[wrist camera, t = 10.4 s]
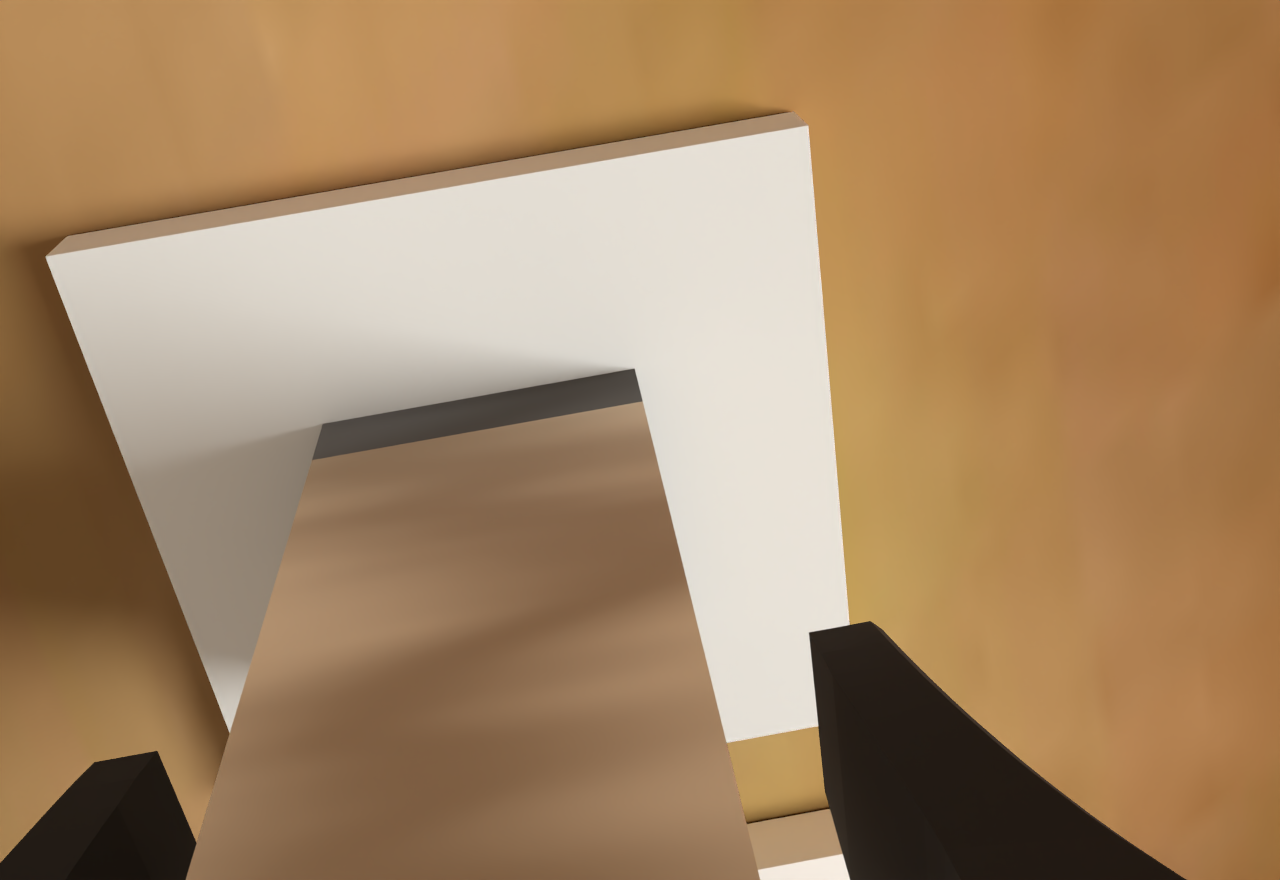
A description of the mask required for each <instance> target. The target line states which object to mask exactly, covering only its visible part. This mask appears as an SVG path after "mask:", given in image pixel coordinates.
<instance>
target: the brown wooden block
mask: <svg viewBox="0 0 1280 880" xmlns="http://www.w3.org/2000/svg"><path fill="white" fill-rule="evenodd" d="M186 880H760V877H759V873H758V869H757V865H756V861H755V857H754V853H753V848H752V844H751V840H750V836H749V832H748V828H747V824H746V820H745V816H744V812H743V808H742V804H741V800H740V795H739V791H738V787H737V783H736V779H735V775H734V771H733V767H732V763H731V759H730V755H729V751H728V747H727V743H726V738H725V734H724V730H723V726H722V722H721V718H720V714H719V710H718V706H717V702H716V698H715V694H714V690H713V686H712V681H711V677H710V673H709V669H708V665H707V661H706V657H705V653H704V649H703V645H702V641H701V637H700V633H699V628H698V624H697V620H696V616H695V612H694V608H693V604H692V600H691V596H690V592H689V588H688V584H687V580H686V576H685V571H684V567H683V563H682V559H681V555H680V551H679V547H678V543H677V539H676V535H675V531H674V527H673V523H672V519H671V514H670V510H669V506H668V502H667V498H666V494H665V490H664V486H663V482H662V478H661V474H660V470H659V466H658V461H657V457H656V453H655V449H654V445H653V441H652V437H651V433H650V429H649V425H648V421H647V417H646V413H645V409H644V404H643V400H642V396H641V392H640V388H639V384H638V380H637V376H636V372H635V369H629V370H624V371H618V372H613V373H607V374H601V375H596V376H590V377H584V378H579V379H573V380H567V381H562V382H556V383H550V384H545V385H539V386H533V387H528V388H522V389H517V390H511V391H505V392H500V393H494V394H488V395H483V396H477V397H471V398H466V399H460V400H454V401H449V402H443V403H437V404H432V405H426V406H421V407H415V408H409V409H404V410H398V411H392V412H387V413H381V414H375V415H370V416H364V417H358V418H353V419H347V420H341V421H336V422H330V423H325V424H323V425H322V428H321V431H320V435H319V438H318V441H317V445H316V448H315V451H314V455H313V458H312V461H311V465H310V468H309V471H308V475H307V478H306V481H305V485H304V488H303V491H302V495H301V498H300V501H299V505H298V508H297V511H296V514H295V518H294V521H293V524H292V528H291V531H290V534H289V538H288V541H287V544H286V548H285V551H284V554H283V558H282V561H281V564H280V568H279V571H278V574H277V578H276V581H275V584H274V588H273V591H272V594H271V598H270V601H269V604H268V608H267V611H266V614H265V618H264V621H263V624H262V628H261V631H260V634H259V637H258V641H257V644H256V647H255V651H254V654H253V657H252V661H251V664H250V667H249V671H248V674H247V677H246V681H245V684H244V687H243V691H242V694H241V697H240V701H239V704H238V707H237V711H236V714H235V717H234V721H233V724H232V727H231V731H230V734H229V737H228V741H227V744H226V747H225V751H224V754H223V757H222V760H221V764H220V767H219V770H218V774H217V777H216V780H215V784H214V787H213V790H212V794H211V797H210V800H209V804H208V807H207V810H206V814H205V817H204V820H203V824H202V827H201V830H200V834H199V837H198V840H197V844H196V847H195V850H194V854H193V857H192V860H191V864H190V867H189V870H188V873H187V877H186Z"/></svg>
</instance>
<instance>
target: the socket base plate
mask: <svg viewBox="0 0 1280 880" xmlns="http://www.w3.org/2000/svg"><path fill="white" fill-rule="evenodd" d="M747 828H748V832H749V836H750V840H751V844H752V848H753V853H754V857H755V861H756V865H757V869H758V873H759V877H760V880H850V878H849V874H848V871H847V867H846V864H845V860H844V857H843V854H842V850H841V847H840V843H839V840H838V836H837V832H836V829H835V825H834V822H833V818H832V814H831V811H830V809H826V810H820V811H815V812H810V813H804V814H799V815H794V816H788V817H783V818H777V819H772V820H767V821H761V822H756V823H750V824H747Z"/></svg>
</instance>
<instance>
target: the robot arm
mask: <svg viewBox="0 0 1280 880" xmlns="http://www.w3.org/2000/svg"><path fill="white" fill-rule="evenodd" d="M809 639H810V649H811V659H812V668H813V678H814V688H815V698H816V708H817V718H818V727H819V737H820V747H821V757H822V767H823V777H824V786H825V793H826V796H827V800H828V804H829V807H830V811H831V814H832V818H833V822H834V825H835V829H836V832H837V836H838V840H839V843H840V847H841V850H842V854H843V857H844V860H845V864H846V867H847V871H848V874H849V878H850V880H1186V879H1184V878H1183V877H1181V876H1180V875H1178V874H1177V873H1175V872H1174V871H1172V870H1170V869H1169V868H1167V867H1166V866H1164V865H1163V864H1161V863H1160V862H1158V861H1157V860H1155V859H1154V858H1152V857H1151V856H1149V855H1148V854H1146V853H1145V852H1143V851H1142V850H1140V849H1139V848H1137V847H1136V846H1134V845H1133V844H1131V843H1130V842H1128V841H1127V840H1125V839H1124V838H1123V837H1121V836H1120V835H1118V834H1117V833H1115V832H1114V831H1113V830H1111V829H1110V828H1108V827H1107V826H1106V825H1104V824H1103V823H1101V822H1100V821H1099V820H1097V819H1096V818H1095V817H1093V816H1092V815H1090V814H1089V813H1088V812H1086V811H1085V810H1084V809H1082V808H1081V807H1080V806H1079V805H1077V804H1076V803H1075V802H1073V801H1072V800H1071V799H1069V798H1068V797H1067V796H1066V795H1064V794H1063V793H1062V792H1060V791H1059V790H1058V789H1056V788H1055V787H1054V786H1053V785H1051V784H1050V783H1049V782H1047V781H1046V780H1045V779H1044V778H1042V777H1041V776H1040V775H1039V774H1037V773H1036V772H1035V771H1034V770H1033V769H1031V768H1030V767H1029V766H1028V765H1026V764H1025V763H1024V762H1023V761H1022V760H1020V759H1019V758H1018V757H1017V756H1016V755H1014V754H1013V753H1012V752H1011V751H1010V750H1009V749H1007V748H1006V747H1005V746H1004V745H1003V744H1002V743H1001V742H999V741H998V740H997V739H996V738H995V737H994V736H992V735H991V734H990V733H989V732H988V731H987V730H986V729H984V728H983V727H982V726H981V725H980V724H979V723H977V722H976V721H975V720H974V719H973V718H972V717H971V716H970V715H968V714H967V713H966V712H965V711H964V710H963V709H962V708H961V707H960V706H959V705H958V704H956V703H955V702H954V701H953V700H952V699H951V698H950V697H949V696H948V695H947V694H946V693H945V692H944V691H943V690H942V689H941V688H940V687H939V686H937V685H936V684H935V683H934V682H933V681H932V680H931V679H930V678H929V677H928V676H927V675H926V674H925V673H924V672H923V671H922V670H921V669H920V668H919V667H918V666H917V665H916V664H915V663H914V662H913V661H912V660H911V659H910V658H909V657H908V656H907V655H906V654H905V653H904V652H903V651H902V650H901V649H900V648H899V647H898V646H897V645H896V644H895V643H894V641H893V640H892V639H891V638H890V637H889V636H888V635H887V634H886V633H885V632H884V631H883V630H882V629H881V628H879V627H878V626H877V625H875V624H874V623H872V622H871V621H869V622H864V623H858V624H853V625H847V626H842V627H836V628H831V629H825V630H820V631H814V632H809ZM196 844H197V843H196V841H195V838H194V836H193V834H192V831H191V829H190V827H189V824H188V822H187V820H186V817H185V815H184V813H183V810H182V808H181V805H180V803H179V801H178V798H177V796H176V794H175V791H174V789H173V787H172V784H171V782H170V780H169V777H168V775H167V773H166V770H165V768H164V766H163V763H162V761H161V759H160V756H159V754H158V751H154V752H149V753H143V754H138V755H132V756H127V757H121V758H116V759H110V760H105V761H99V762H94V763H93V764H92V765H91V766H90V767H89V768H88V769H87V770H86V771H85V772H84V773H83V774H82V775H81V776H80V777H79V778H78V779H77V780H76V781H75V782H74V783H73V784H72V785H71V787H70V788H69V789H68V790H67V791H66V792H65V793H64V794H63V795H62V796H61V797H60V798H59V799H58V800H57V801H56V803H55V804H54V805H53V806H52V807H51V808H50V809H49V810H48V811H47V812H46V813H45V815H44V816H43V817H42V818H41V819H40V820H39V821H38V822H37V823H36V824H35V825H34V827H33V828H32V829H31V830H30V831H29V832H28V833H27V834H26V835H25V836H24V838H23V839H22V840H21V841H20V842H19V843H18V844H17V845H16V846H15V847H14V849H13V850H12V851H11V852H10V853H9V854H8V855H7V856H6V857H5V858H4V860H3V861H2V862H1V863H0V880H186V877H187V873H188V870H189V867H190V864H191V860H192V857H193V854H194V850H195V847H196Z"/></svg>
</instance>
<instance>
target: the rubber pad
mask: <svg viewBox="0 0 1280 880" xmlns="http://www.w3.org/2000/svg"><path fill="white" fill-rule="evenodd" d="M45 257H46V260H47V262H48V265H49V268H50V270H51V273H52V275H53V278H54V281H55V283H56V286H57V288H58V291H59V293H60V296H61V299H62V301H63V304H64V306H65V309H66V312H67V314H68V317H69V319H70V322H71V324H72V327H73V330H74V332H75V335H76V337H77V340H78V343H79V345H80V348H81V350H82V353H83V355H84V358H85V361H86V363H87V366H88V368H89V371H90V374H91V376H92V379H93V381H94V384H95V386H96V389H97V392H98V394H99V397H100V399H101V402H102V405H103V407H104V410H105V412H106V415H107V417H108V420H109V423H110V425H111V428H112V430H113V433H114V436H115V438H116V441H117V443H118V446H119V448H120V451H121V454H122V456H123V459H124V461H125V464H126V467H127V469H128V472H129V474H130V477H131V479H132V482H133V485H134V487H135V490H136V492H137V495H138V498H139V500H140V503H141V505H142V508H143V510H144V513H145V516H146V518H147V521H148V523H149V526H150V529H151V531H152V534H153V536H154V539H155V541H156V544H157V547H158V549H159V552H160V554H161V557H162V560H163V562H164V565H165V567H166V570H167V572H168V575H169V578H170V580H171V583H172V585H173V588H174V591H175V593H176V596H177V598H178V601H179V603H180V606H181V609H182V611H183V614H184V616H185V619H186V622H187V624H188V627H189V629H190V632H191V634H192V637H193V640H194V642H195V645H196V647H197V650H198V653H199V655H200V658H201V660H202V663H203V665H204V668H205V671H206V673H207V676H208V678H209V681H210V684H211V686H212V689H213V691H214V694H215V696H216V699H217V702H218V704H219V707H220V709H221V712H222V715H223V717H224V720H225V722H226V725H227V727H228V730H229V733H230V731H231V727H232V724H233V721H234V717H235V714H236V711H237V707H238V704H239V701H240V697H241V694H242V691H243V687H244V684H245V681H246V677H247V674H248V671H249V667H250V664H251V661H252V657H253V654H254V651H255V647H256V644H257V641H258V637H259V634H260V631H261V628H262V624H263V621H264V618H265V614H266V611H267V608H268V604H269V601H270V598H271V594H272V591H273V588H274V584H275V581H276V578H277V574H278V571H279V568H280V564H281V561H282V558H283V554H284V551H285V548H286V544H287V541H288V538H289V534H290V531H291V528H292V524H293V521H294V518H295V514H296V511H297V508H298V505H299V501H300V498H301V495H302V491H303V488H304V485H305V481H306V478H307V475H308V471H309V468H310V465H311V461H312V458H313V455H314V451H315V448H316V445H317V441H318V438H319V435H320V431H321V428H322V425H323V424H325V423H330V422H336V421H341V420H347V419H353V418H358V417H364V416H370V415H375V414H381V413H387V412H392V411H398V410H404V409H409V408H415V407H421V406H426V405H432V404H437V403H443V402H449V401H454V400H460V399H466V398H471V397H477V396H483V395H488V394H494V393H500V392H505V391H511V390H517V389H522V388H528V387H533V386H539V385H545V384H550V383H556V382H562V381H567V380H573V379H579V378H584V377H590V376H596V375H601V374H607V373H613V372H618V371H624V370H629V369H635V372H636V376H637V380H638V384H639V388H640V392H641V396H642V400H643V404H644V409H645V413H646V417H647V421H648V425H649V429H650V433H651V437H652V441H653V445H654V449H655V453H656V457H657V461H658V466H659V470H660V474H661V478H662V482H663V486H664V490H665V494H666V498H667V502H668V506H669V510H670V514H671V519H672V523H673V527H674V531H675V535H676V539H677V543H678V547H679V551H680V555H681V559H682V563H683V567H684V571H685V576H686V580H687V584H688V588H689V592H690V596H691V600H692V604H693V608H694V612H695V616H696V620H697V624H698V628H699V633H700V637H701V641H702V645H703V649H704V653H705V657H706V661H707V665H708V669H709V673H710V677H711V681H712V686H713V690H714V694H715V698H716V702H717V706H718V710H719V714H720V718H721V722H722V726H723V730H724V734H725V738H726V743H729V742H734V741H739V740H745V739H750V738H756V737H761V736H767V735H772V734H778V733H783V732H788V731H794V730H799V729H805V728H810V727H816V726H818V718H817V708H816V698H815V688H814V678H813V668H812V659H811V649H810V639H809V632H814V631H820V630H825V629H831V628H836V627H842V626H847V625H849V613H848V601H847V589H846V577H845V565H844V553H843V541H842V529H841V516H840V504H839V492H838V480H837V468H836V456H835V444H834V432H833V420H832V408H831V395H830V383H829V371H828V359H827V347H826V335H825V323H824V311H823V299H822V287H821V274H820V262H819V250H818V238H817V226H816V214H815V202H814V190H813V178H812V166H811V154H810V141H809V129H808V125H807V124H806V123H805V122H804V121H803V120H802V119H801V118H800V117H799V116H798V115H797V114H796V113H795V112H788V113H782V114H776V115H770V116H765V117H759V118H753V119H747V120H741V121H735V122H730V123H724V124H718V125H712V126H706V127H700V128H695V129H689V130H683V131H677V132H671V133H665V134H660V135H654V136H648V137H642V138H636V139H631V140H625V141H619V142H613V143H607V144H601V145H596V146H590V147H584V148H578V149H572V150H566V151H561V152H555V153H549V154H543V155H537V156H531V157H526V158H520V159H514V160H508V161H502V162H496V163H491V164H485V165H479V166H473V167H467V168H461V169H456V170H450V171H444V172H438V173H432V174H426V175H421V176H415V177H409V178H403V179H397V180H391V181H386V182H380V183H374V184H368V185H362V186H357V187H351V188H345V189H339V190H333V191H327V192H322V193H316V194H310V195H304V196H298V197H292V198H287V199H281V200H275V201H269V202H263V203H257V204H252V205H246V206H240V207H234V208H228V209H222V210H217V211H211V212H205V213H199V214H193V215H187V216H182V217H176V218H170V219H164V220H158V221H152V222H147V223H141V224H135V225H129V226H123V227H118V228H112V229H106V230H100V231H94V232H88V233H83V234H77V235H71V236H67V237H66V238H65V239H64V240H62V241H61V242H60V243H59V244H58V245H57V246H56V247H55V248H54V249H53V250H52V251H51V252H50V253H49V254H48V255H46V256H45Z"/></svg>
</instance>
